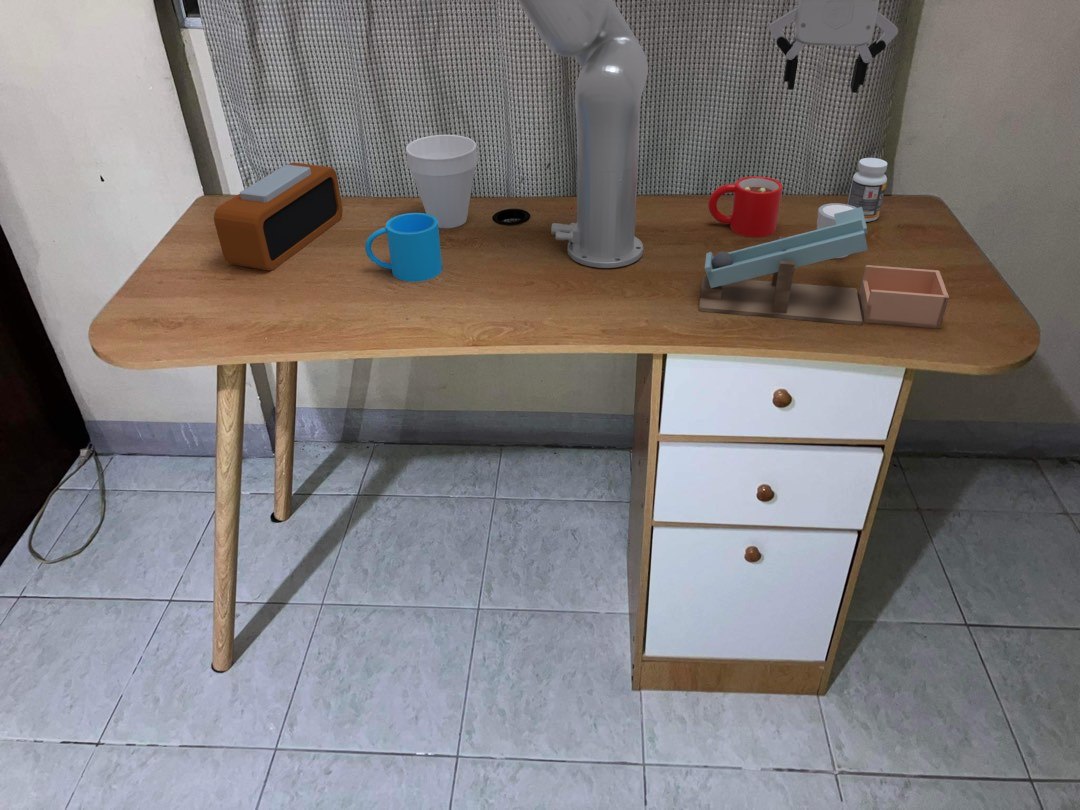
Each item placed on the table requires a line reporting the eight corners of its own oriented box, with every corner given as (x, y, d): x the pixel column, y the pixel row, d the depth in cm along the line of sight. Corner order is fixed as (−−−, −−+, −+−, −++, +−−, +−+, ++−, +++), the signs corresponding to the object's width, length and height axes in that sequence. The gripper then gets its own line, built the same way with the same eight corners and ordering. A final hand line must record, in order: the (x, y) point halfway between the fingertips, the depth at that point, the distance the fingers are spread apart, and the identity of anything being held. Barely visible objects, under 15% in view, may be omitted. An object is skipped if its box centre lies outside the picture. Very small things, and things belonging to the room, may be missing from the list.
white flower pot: (444, 201, 158) (438, 129, 149) (495, 216, 152) (491, 142, 144) (399, 224, 150) (390, 149, 142) (451, 240, 144) (444, 163, 136)
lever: (711, 290, 122) (704, 269, 121) (714, 251, 133) (709, 231, 131) (872, 251, 114) (867, 228, 112) (863, 212, 124) (858, 191, 122)
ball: (711, 275, 123) (711, 257, 121) (712, 266, 125) (712, 248, 123) (732, 275, 122) (732, 257, 120) (733, 266, 124) (733, 248, 123)
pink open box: (863, 322, 119) (871, 291, 116) (858, 294, 126) (865, 265, 123) (939, 328, 117) (949, 297, 114) (930, 300, 124) (939, 270, 121)
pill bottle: (882, 222, 146) (896, 168, 140) (849, 223, 146) (861, 168, 140) (872, 209, 151) (885, 156, 145) (841, 210, 151) (852, 156, 145)
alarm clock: (268, 275, 135) (252, 209, 128) (225, 268, 137) (208, 203, 131) (345, 217, 153) (334, 157, 146) (306, 212, 155) (294, 152, 149)
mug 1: (443, 258, 139) (439, 211, 134) (440, 281, 132) (436, 233, 127) (372, 260, 138) (364, 214, 134) (365, 283, 132) (357, 236, 127)
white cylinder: (855, 261, 134) (865, 221, 130) (811, 258, 136) (819, 218, 132) (851, 243, 140) (860, 203, 136) (809, 240, 141) (817, 201, 137)
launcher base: (698, 310, 123) (704, 259, 118) (702, 279, 130) (707, 229, 125) (861, 325, 118) (874, 272, 114) (855, 291, 126) (867, 240, 121)
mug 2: (705, 216, 150) (710, 174, 145) (774, 219, 148) (780, 176, 144) (706, 235, 144) (711, 191, 139) (777, 238, 142) (784, 194, 137)
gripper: (778, -49, 105) (758, 93, 116) (923, -46, 102) (889, 99, 113) (777, -57, 111) (758, 78, 122) (914, -55, 108) (883, 84, 118)
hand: (821, 88), depth 117 cm, fingers open, 8 cm apart
